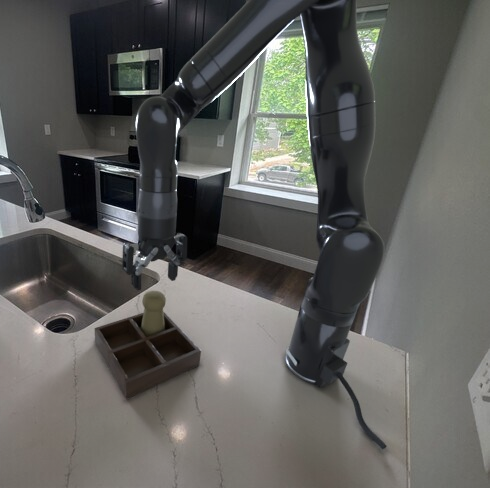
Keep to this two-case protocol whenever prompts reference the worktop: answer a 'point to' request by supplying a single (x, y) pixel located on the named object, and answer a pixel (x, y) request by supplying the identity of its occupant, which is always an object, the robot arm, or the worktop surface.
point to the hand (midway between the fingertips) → (155, 283)
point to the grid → (145, 353)
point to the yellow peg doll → (153, 313)
